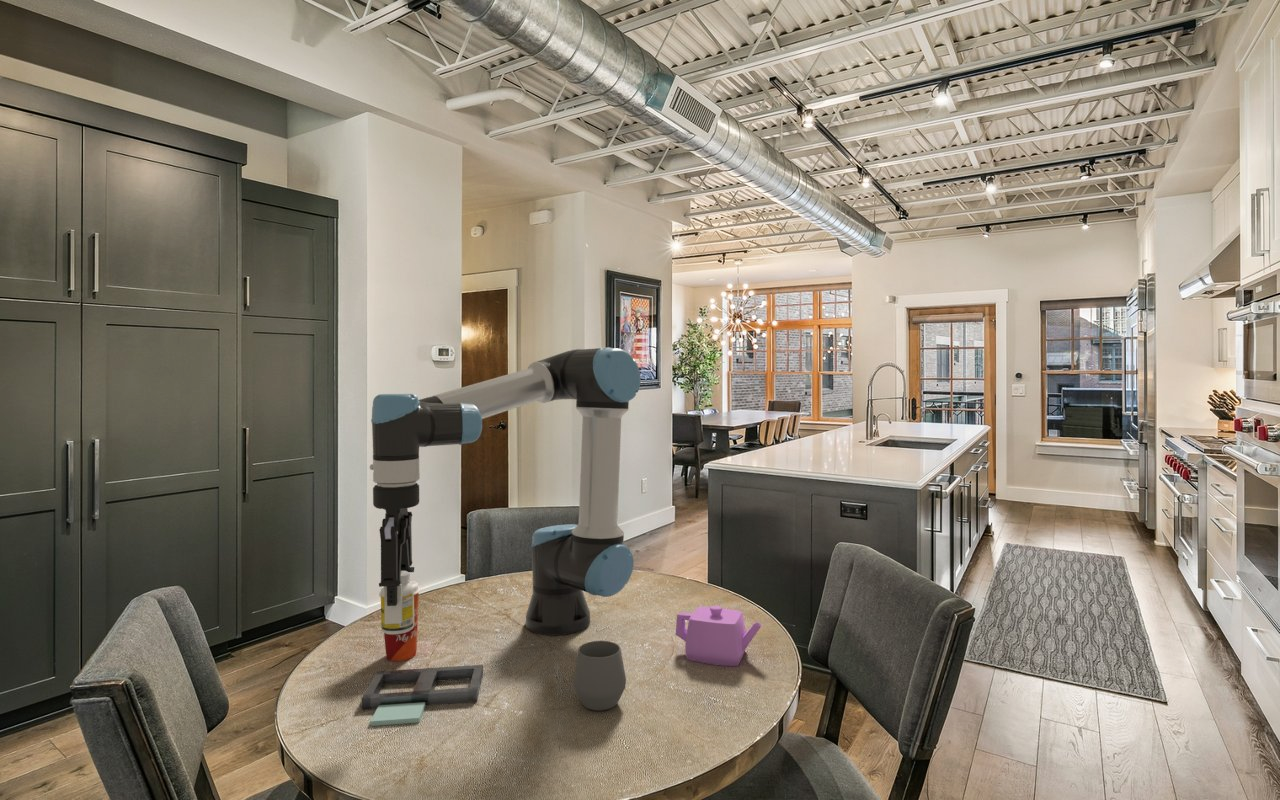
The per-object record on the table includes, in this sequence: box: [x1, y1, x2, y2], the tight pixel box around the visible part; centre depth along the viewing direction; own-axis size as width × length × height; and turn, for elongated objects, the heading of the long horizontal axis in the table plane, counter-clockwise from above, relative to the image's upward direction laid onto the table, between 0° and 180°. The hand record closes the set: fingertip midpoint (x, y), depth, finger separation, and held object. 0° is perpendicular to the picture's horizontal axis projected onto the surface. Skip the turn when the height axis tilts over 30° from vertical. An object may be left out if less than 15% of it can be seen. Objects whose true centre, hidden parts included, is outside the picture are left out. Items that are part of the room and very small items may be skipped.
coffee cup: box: [378, 580, 421, 662], centre depth 143 cm, size 8×8×15 cm
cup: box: [572, 640, 627, 712], centre depth 121 cm, size 10×9×10 cm
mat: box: [369, 702, 426, 727], centre depth 118 cm, size 8×6×1 cm
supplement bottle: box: [380, 571, 414, 634], centre depth 117 cm, size 5×5×10 cm
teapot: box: [675, 605, 762, 667], centre depth 142 cm, size 18×10×10 cm, turn 71°
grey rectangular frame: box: [361, 664, 484, 711], centre depth 127 cm, size 20×11×2 cm, turn 98°
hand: (397, 616), depth 117 cm, fingers closed on supplement bottle, 5 cm apart
